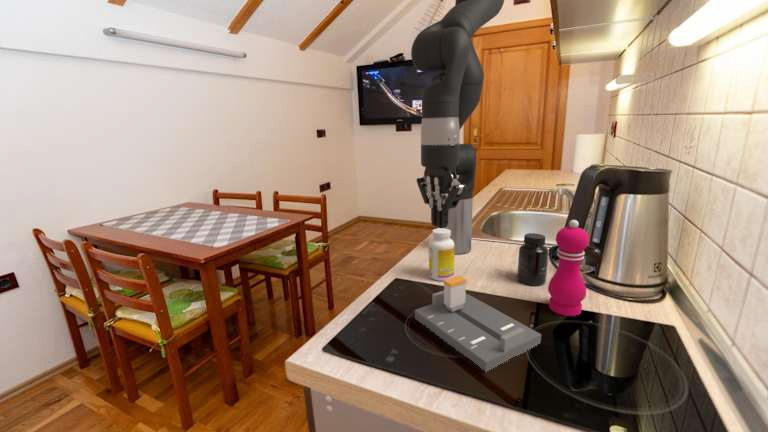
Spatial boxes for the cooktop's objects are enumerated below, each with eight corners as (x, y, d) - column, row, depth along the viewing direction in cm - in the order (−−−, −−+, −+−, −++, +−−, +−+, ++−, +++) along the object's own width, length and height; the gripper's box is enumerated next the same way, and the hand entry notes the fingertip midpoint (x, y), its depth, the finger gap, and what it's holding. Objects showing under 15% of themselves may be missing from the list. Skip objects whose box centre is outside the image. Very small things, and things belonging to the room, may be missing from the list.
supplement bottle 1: (458, 275, 95) (459, 229, 91) (445, 284, 90) (445, 236, 87) (438, 269, 99) (438, 225, 96) (423, 277, 94) (423, 231, 91)
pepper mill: (582, 321, 72) (594, 226, 66) (543, 312, 75) (552, 222, 70) (584, 305, 77) (595, 217, 72) (549, 297, 81) (556, 213, 76)
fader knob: (443, 308, 74) (443, 280, 72) (458, 302, 76) (459, 275, 74) (450, 313, 72) (450, 284, 70) (465, 307, 74) (466, 279, 72)
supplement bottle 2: (548, 287, 86) (553, 240, 83) (519, 285, 88) (522, 240, 84) (542, 275, 93) (546, 232, 90) (515, 274, 94) (517, 231, 91)
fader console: (414, 318, 75) (414, 299, 74) (464, 300, 82) (464, 282, 80) (485, 372, 58) (486, 349, 57) (540, 343, 65) (542, 322, 64)
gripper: (404, 142, 73) (406, 222, 78) (448, 144, 62) (447, 238, 66) (433, 139, 77) (433, 216, 81) (479, 141, 65) (476, 231, 70)
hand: (439, 226), depth 74 cm, fingers closed
